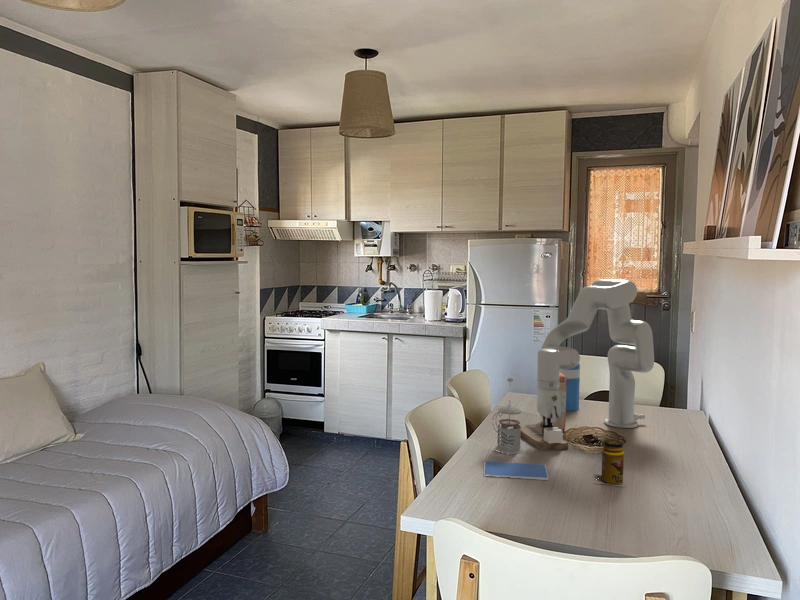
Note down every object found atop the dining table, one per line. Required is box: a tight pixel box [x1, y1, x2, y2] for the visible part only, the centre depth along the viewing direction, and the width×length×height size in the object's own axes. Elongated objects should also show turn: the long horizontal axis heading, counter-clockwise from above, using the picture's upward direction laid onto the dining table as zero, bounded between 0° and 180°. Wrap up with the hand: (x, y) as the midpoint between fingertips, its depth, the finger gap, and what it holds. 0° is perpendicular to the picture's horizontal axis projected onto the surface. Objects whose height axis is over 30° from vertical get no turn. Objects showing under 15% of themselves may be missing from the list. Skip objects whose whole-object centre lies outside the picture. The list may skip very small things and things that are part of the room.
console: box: [512, 423, 569, 451], centre depth 216 cm, size 10×24×2 cm, turn 13°
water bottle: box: [559, 362, 581, 412], centre depth 262 cm, size 9×9×25 cm
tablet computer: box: [483, 461, 550, 481], centre depth 183 cm, size 19×13×1 cm, turn 81°
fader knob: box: [544, 427, 564, 444], centre depth 206 cm, size 5×4×4 cm
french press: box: [492, 377, 524, 455], centre depth 204 cm, size 10×12×25 cm
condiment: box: [593, 439, 626, 488], centre depth 175 cm, size 7×8×12 cm
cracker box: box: [553, 372, 567, 431], centre depth 234 cm, size 14×6×21 cm, turn 179°
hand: (547, 435), depth 210 cm, fingers closed
